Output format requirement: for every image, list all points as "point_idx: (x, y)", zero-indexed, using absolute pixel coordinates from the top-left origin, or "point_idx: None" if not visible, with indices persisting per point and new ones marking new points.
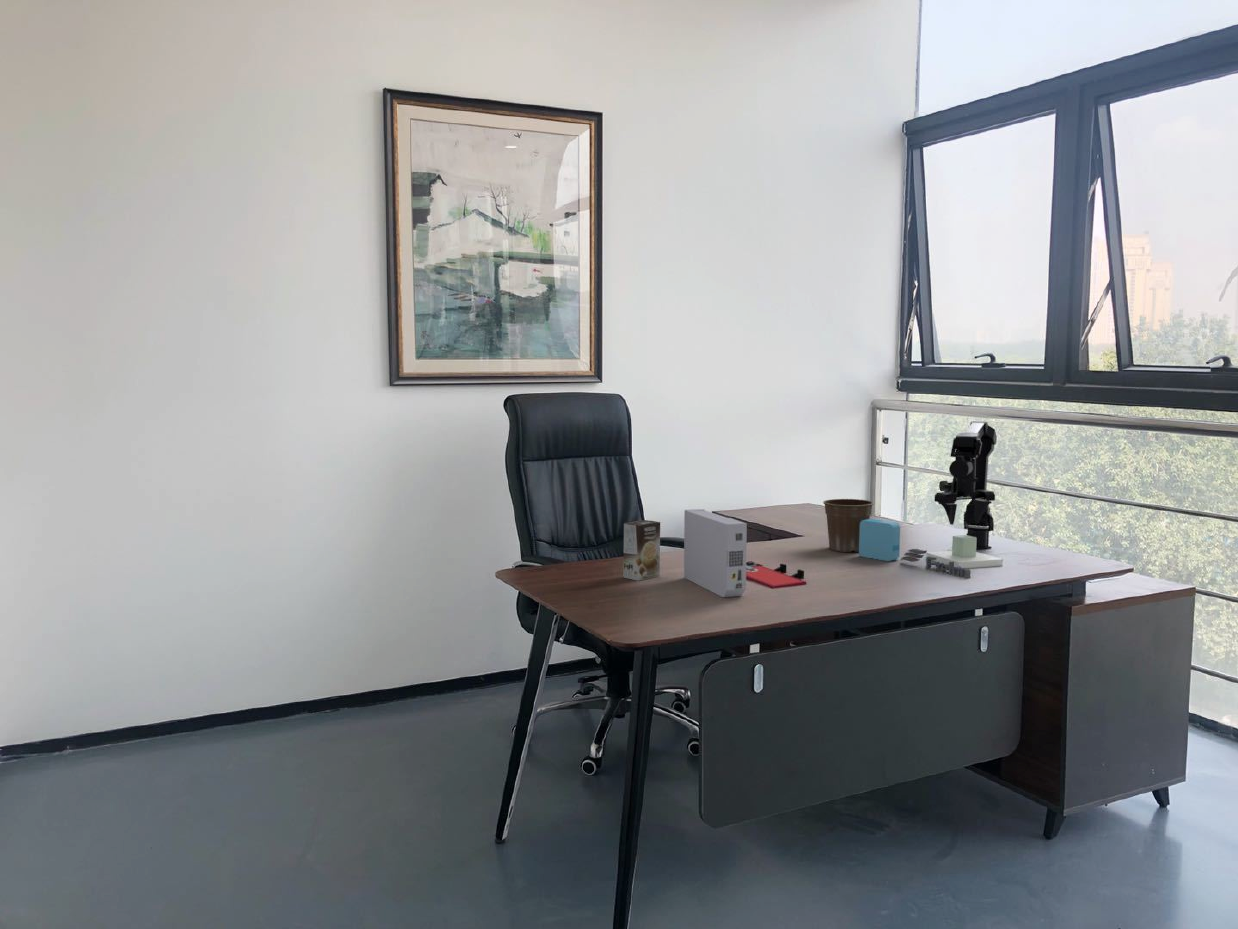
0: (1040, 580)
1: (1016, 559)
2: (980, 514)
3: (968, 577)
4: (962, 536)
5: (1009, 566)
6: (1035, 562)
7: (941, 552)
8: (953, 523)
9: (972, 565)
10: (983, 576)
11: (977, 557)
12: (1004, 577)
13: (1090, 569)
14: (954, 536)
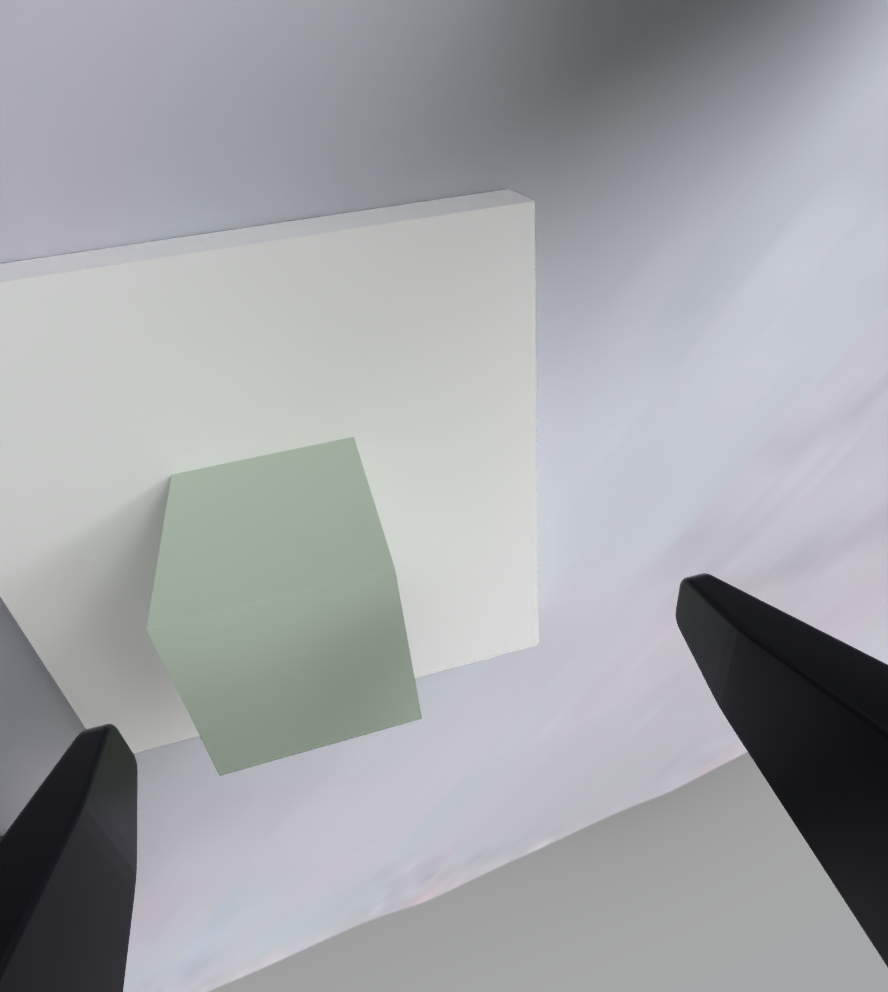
0: (473, 871)
1: (785, 411)
2: (793, 802)
3: None
4: (281, 664)
5: (551, 625)
6: (807, 514)
7: (74, 338)
8: (134, 794)
9: None
10: (213, 855)
11: None
12: (329, 854)
13: None
14: (162, 658)
